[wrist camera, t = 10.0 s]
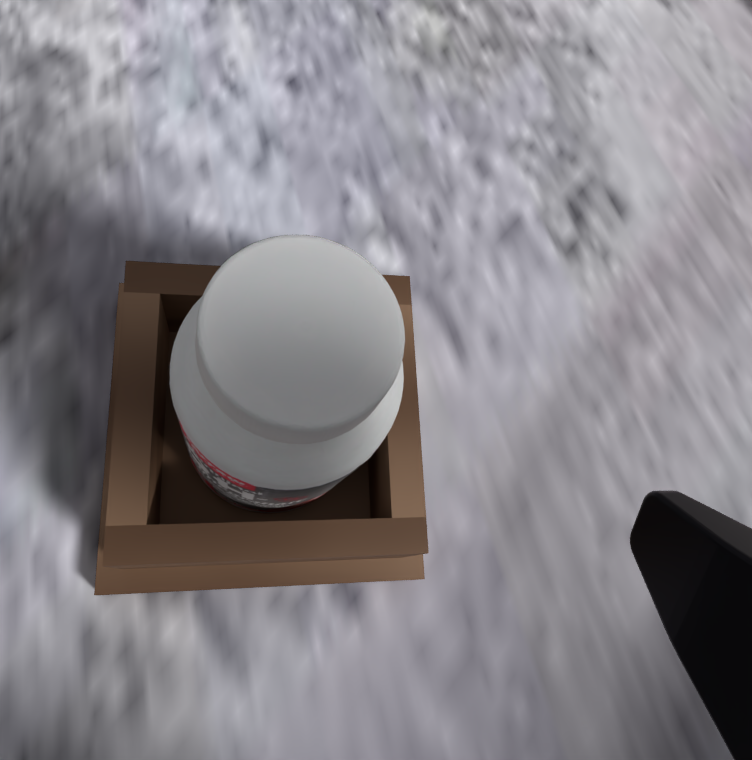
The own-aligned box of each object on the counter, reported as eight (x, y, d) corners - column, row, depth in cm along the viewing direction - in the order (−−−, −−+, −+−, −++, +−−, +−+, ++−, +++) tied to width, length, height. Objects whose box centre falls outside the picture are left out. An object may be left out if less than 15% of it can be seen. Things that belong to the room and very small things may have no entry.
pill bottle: (170, 504, 20) (122, 442, 11) (203, 343, 22) (185, 171, 12) (342, 525, 21) (432, 486, 12) (360, 370, 22) (451, 228, 13)
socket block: (416, 579, 22) (454, 578, 18) (101, 594, 20) (69, 596, 16) (399, 307, 25) (428, 258, 21) (123, 295, 23) (102, 237, 19)
